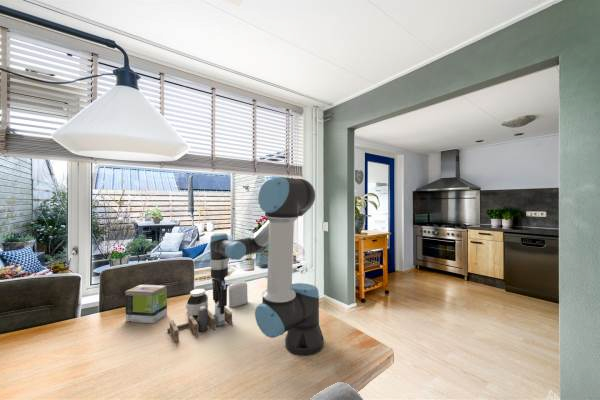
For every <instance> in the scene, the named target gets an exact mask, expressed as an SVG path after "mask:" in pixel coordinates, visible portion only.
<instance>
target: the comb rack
mask: <svg viewBox="0 0 600 400" xmlns="http://www.w3.org/2000/svg"><path fill="white" fill-rule="evenodd" d="M187 319H188V321H187V322H185V323H182V324H179V325H177V324H176V322H175V320H169V328H167V332H166V333H167V334H170V336H171V339H172V338H173V339H172V340H173V342H174V344H177V343H180V340H179V338H180V337H179V336H180V335H179V334H180V330H184V329H186V328H188V329H189V330H190V332H191V334H192V335H193V337H194V338H195V337H198V336H199V335H200V336H201V335H203V334H206V333H209V332H212V331H216V330H218V329H221V328H225V327H228V326H230V325H231V326H232V325H233V313H232V312H231V311H230V310H229V309H228V308H227V306H225V320H224V323H226V324H223V325H221V326H216V318H215V314H212V312H211V311H209V309H208V328H210V329H208V330H207V331H205V332H202V333H200V332H198V319H195V318H193V316H192V315H190V316H189V315H187Z"/></svg>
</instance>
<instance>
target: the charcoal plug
mask: <svg viewBox="0 0 600 400" xmlns="http://www.w3.org/2000/svg"><path fill="white" fill-rule="evenodd" d="M208 310H209V308H206V307H205V306H202V307H200V309H199V310H198V318H197V320H198V333H199V334H200V333H202V332H205V331H208V330H209V326H208Z"/></svg>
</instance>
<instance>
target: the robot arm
mask: <svg viewBox="0 0 600 400" xmlns="http://www.w3.org/2000/svg"><path fill="white" fill-rule="evenodd" d="M315 200H316V191H315V188H314V186H313V184H311V183H310V182H309V181H308V180H306V179H304V178H296V177H295V178H292V177H286V176H285V177H284V176H273V177H268V178H267V179H266V180H265V181H264V182H263V183H262V184H261V186H260V187H259V190H258V194H257V203H258V204H259V208H260V210H262V211H263V212H264V217H265V218H266V219H267V221H265V223H264V224H263V225H262V226H261V227H260V228H259V229H258V230H257V231H256V232H255V233H254V234H253V235H252V236H250V237H245V238H238V239H229V236H228V234H227V233H226V232H219V233H212V234H211V235H210V241H209V244H210V245H209V246H210V247H209V249H210V262H209V263H210V278H211V282H212V300H213V302H214V305H215V304H216V303H217V301H219V306H217V307H218V321H222V320H225V307H227V306H228V288H229V285H228V284H226V280H225V278H226V277H228V275H229V267H228V266H229V263H228V262H229V260H238V261H239V260H241V259H242V258H243V257H245V256H249V255H254V254H259V253H262V252H266V251H267V250H268V251H267V279H266V280H267V284H266V289H265V290H264V291H263V293H262V300H261V301H262V303H259V304H258V305H257V306H256V307H255V309H254V316H255V317H254V318H255V322H256V325H257V327H258V328H259V330H260V331H261V332H262V334H263V335H264V336H266V337H268V338H270V339H274V338H275V339H276V338H277V337H280V336H283V335H284V334H285V333H286V332H287V333H286V335H285V340H284V341H285V343H284V345H285V348H286V350H287V351H288V352H289V353H291V354H294V355H297V356H303V357H304V356H305V357H307V356H309V357H310V356H313V355H316V354H318V353H319V352H321V351H322V350H323V349H324V343H325V342H324V341H325V340H324V336H323V332H322V329H321V327H320V294H319V293H320V291H319V289H318V287H317V286H316V285H313V284H310V283H303V282H302V283H301V282H296V283H293V259H294V232H295V231H294V230H295V229H294V227H295V221H296V220H298V219H299V217H303V215H305V213H307V212H308V211H309V210H311V208H312V206H313V205H314V203H315Z"/></svg>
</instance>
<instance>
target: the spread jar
mask: <svg viewBox="0 0 600 400" xmlns="http://www.w3.org/2000/svg"><path fill="white" fill-rule="evenodd" d="M202 306H205V307H206V308H208V307H209V298H208V295H207V294H206V289H205V288H195V289H193V290H192V289H191V291H190V292H189V297H188V299H187V302H186V304H185V309H186V314H187V316H190V315H192V316H193V318H194V319H195V318H197V319H198V310H199V309H200V307H202ZM208 309H209V308H208Z"/></svg>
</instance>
